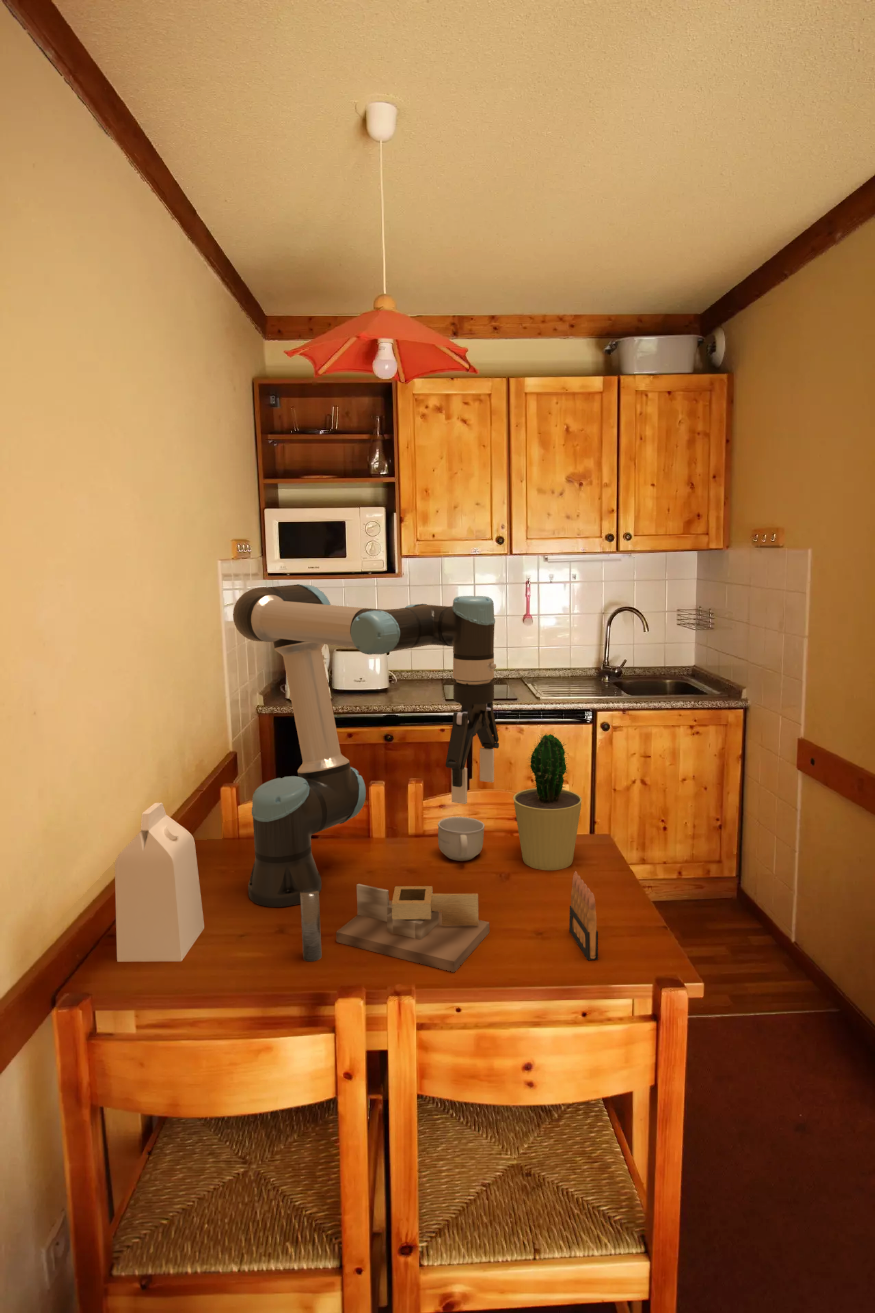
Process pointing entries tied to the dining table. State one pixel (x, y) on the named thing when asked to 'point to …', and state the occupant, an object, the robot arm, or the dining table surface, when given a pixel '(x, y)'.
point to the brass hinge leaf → (434, 905)
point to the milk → (157, 892)
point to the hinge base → (409, 933)
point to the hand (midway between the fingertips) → (473, 791)
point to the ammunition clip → (583, 918)
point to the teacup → (460, 837)
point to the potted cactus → (547, 810)
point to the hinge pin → (310, 924)
